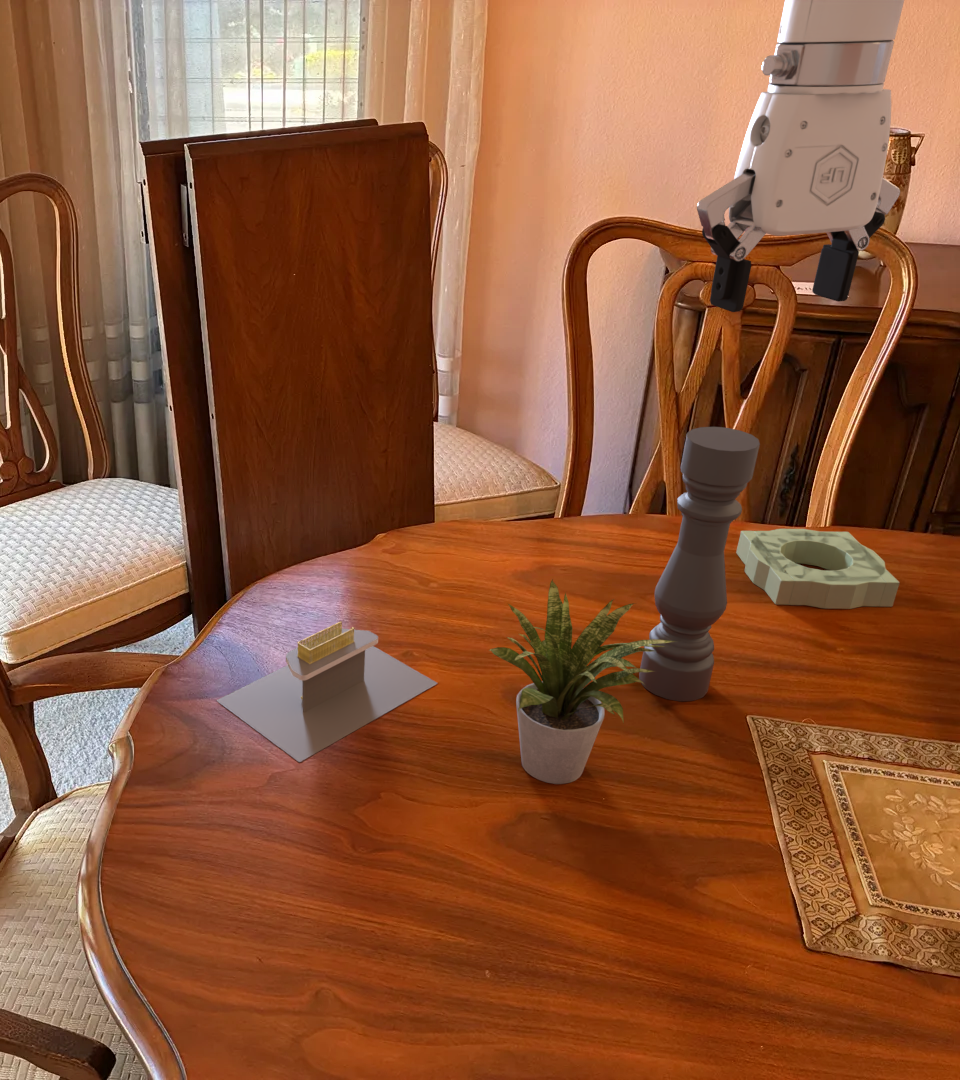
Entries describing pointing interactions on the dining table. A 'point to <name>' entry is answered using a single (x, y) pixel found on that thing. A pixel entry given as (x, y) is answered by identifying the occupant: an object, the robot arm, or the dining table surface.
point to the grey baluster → (698, 562)
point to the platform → (325, 691)
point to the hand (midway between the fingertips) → (777, 302)
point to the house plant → (568, 688)
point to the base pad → (788, 583)
